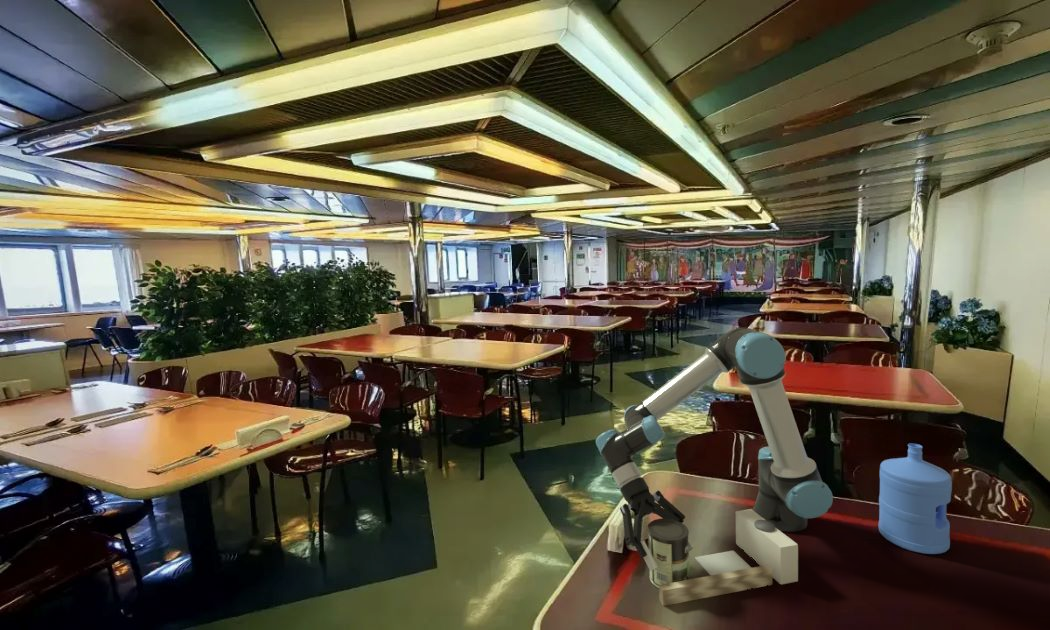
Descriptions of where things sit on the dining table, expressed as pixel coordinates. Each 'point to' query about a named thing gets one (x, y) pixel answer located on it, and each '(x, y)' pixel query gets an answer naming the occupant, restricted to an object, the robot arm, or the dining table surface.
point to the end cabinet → (757, 549)
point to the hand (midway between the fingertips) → (673, 559)
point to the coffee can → (668, 551)
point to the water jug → (914, 503)
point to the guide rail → (715, 585)
